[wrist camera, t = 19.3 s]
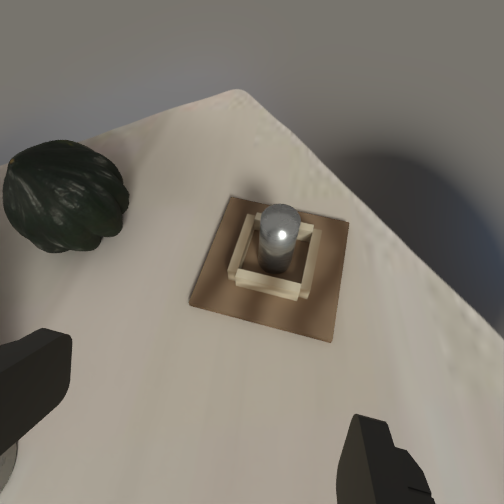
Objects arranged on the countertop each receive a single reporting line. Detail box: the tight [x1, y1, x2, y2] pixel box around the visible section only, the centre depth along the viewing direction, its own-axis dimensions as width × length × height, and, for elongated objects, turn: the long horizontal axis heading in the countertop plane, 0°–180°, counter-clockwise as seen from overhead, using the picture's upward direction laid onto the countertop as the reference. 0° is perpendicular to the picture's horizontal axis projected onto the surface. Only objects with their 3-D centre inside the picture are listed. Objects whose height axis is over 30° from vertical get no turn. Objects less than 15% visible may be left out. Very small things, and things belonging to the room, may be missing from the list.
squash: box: [3, 140, 129, 253], centre depth 44 cm, size 14×15×15 cm
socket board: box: [189, 197, 349, 343], centre depth 44 cm, size 18×18×4 cm
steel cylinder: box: [258, 204, 301, 274], centre depth 41 cm, size 4×4×9 cm
